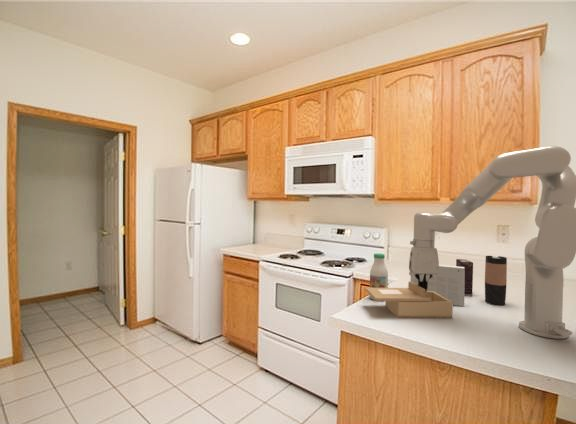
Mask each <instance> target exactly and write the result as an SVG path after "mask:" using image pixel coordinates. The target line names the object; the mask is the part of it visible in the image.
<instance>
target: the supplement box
mask: <svg viewBox="0 0 576 424" xmlns="http://www.w3.org/2000/svg"><path fill="white" fill-rule="evenodd" d="M455 263H456V264H455V266H458V267H465V284H464V297H473V285H474V284H473V282H474V281H473V280H474V262H472V261H470V260H467V259H460V258H457V259H456V262H455Z"/></svg>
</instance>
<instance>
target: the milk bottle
mask: <svg viewBox="0 0 576 424" xmlns="http://www.w3.org/2000/svg"><path fill="white" fill-rule="evenodd" d="M385 257H386V256H385V253H374V254H373V259H374V260H373V261H374V262H373V263H372V266H371V268H370V272H369V288H389V277H388V276H389V274H388V269H387V266H386V264H385ZM369 298H370V299H371V300H373V301H375V300H374V298H373V297H372V296H371V295H370V294H369Z"/></svg>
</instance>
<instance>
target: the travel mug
mask: <svg viewBox="0 0 576 424" xmlns="http://www.w3.org/2000/svg"><path fill="white" fill-rule="evenodd" d="M507 265H508V258H507V257H505V256H500V255H499V256H497V257H496V256H493V255H485V267H484V268H485V269H484V301H485V303H486V304H489V305H492V306H498V307H501V306H505V305H506V299H507V298H506V297H507V273H508V272H507V270H508V267H507Z"/></svg>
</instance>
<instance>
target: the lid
mask: <svg viewBox="0 0 576 424" xmlns="http://www.w3.org/2000/svg"><path fill="white" fill-rule="evenodd" d="M407 284H408V286H407V287H388V288H370V287H364V290H365V291H366V292H367V293H368V294H369V296H370V295H371V296H372V297H373V298H374V300H373V301H376V302H386V301H431V298H429V297H428V296H426V295H425V289H423V288H422V287H420V286H418V285H417V284H415V283H413V282H410V280H409V281H408V283H407Z"/></svg>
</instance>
